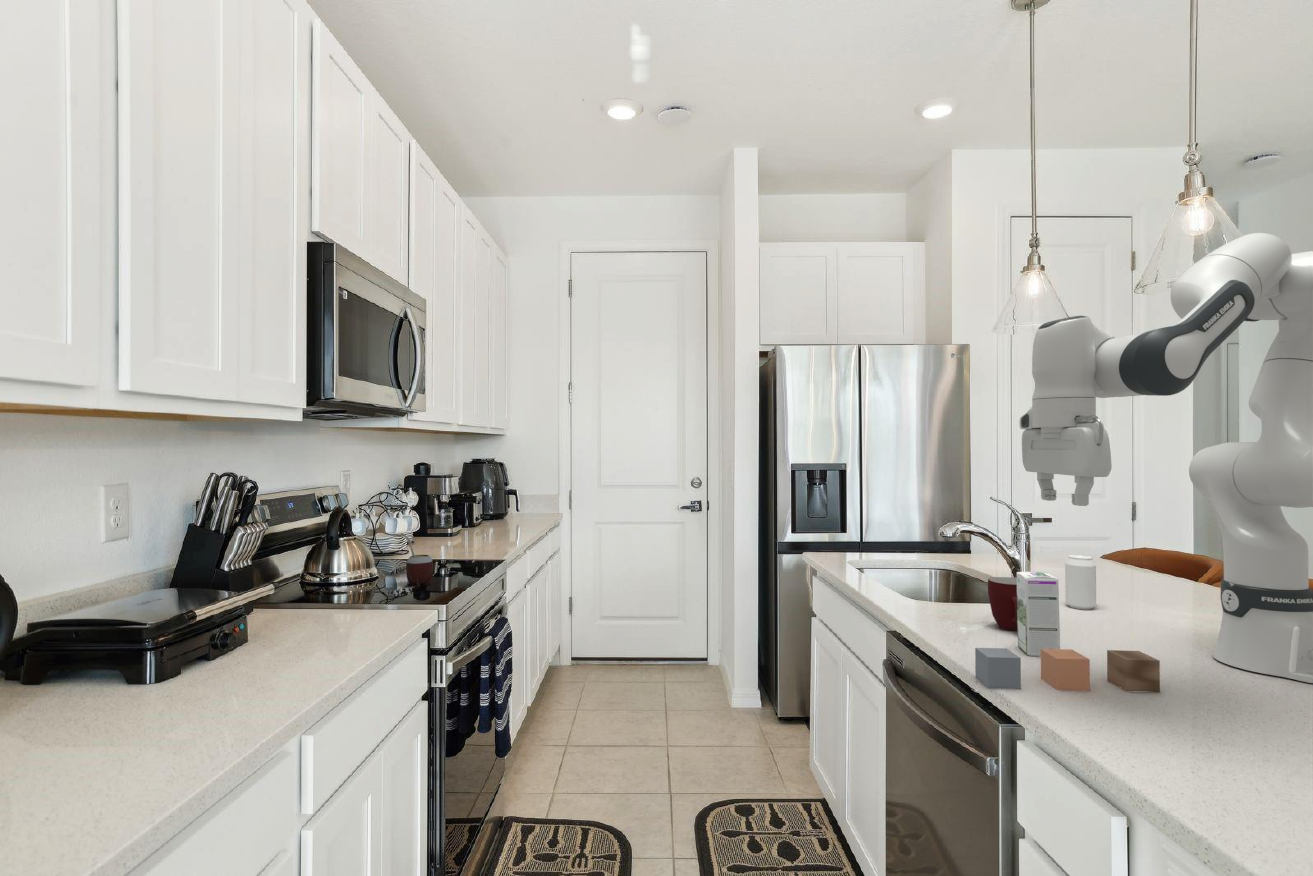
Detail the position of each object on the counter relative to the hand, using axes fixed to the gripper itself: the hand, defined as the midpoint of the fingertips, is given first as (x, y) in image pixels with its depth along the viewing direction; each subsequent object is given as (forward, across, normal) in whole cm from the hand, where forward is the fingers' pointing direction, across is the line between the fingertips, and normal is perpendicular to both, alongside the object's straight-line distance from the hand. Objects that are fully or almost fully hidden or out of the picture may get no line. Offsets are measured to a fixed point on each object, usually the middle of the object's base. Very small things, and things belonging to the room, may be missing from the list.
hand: (1063, 502), depth 109 cm
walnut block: (+29, 0, -10) cm, 31 cm away
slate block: (+29, 0, +10) cm, 31 cm away
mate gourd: (+30, +67, +136) cm, 154 cm away
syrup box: (+30, +17, -4) cm, 34 cm away
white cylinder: (+29, +53, -31) cm, 68 cm away
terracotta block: (+29, 0, 0) cm, 29 cm away
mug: (+29, +32, -6) cm, 44 cm away
